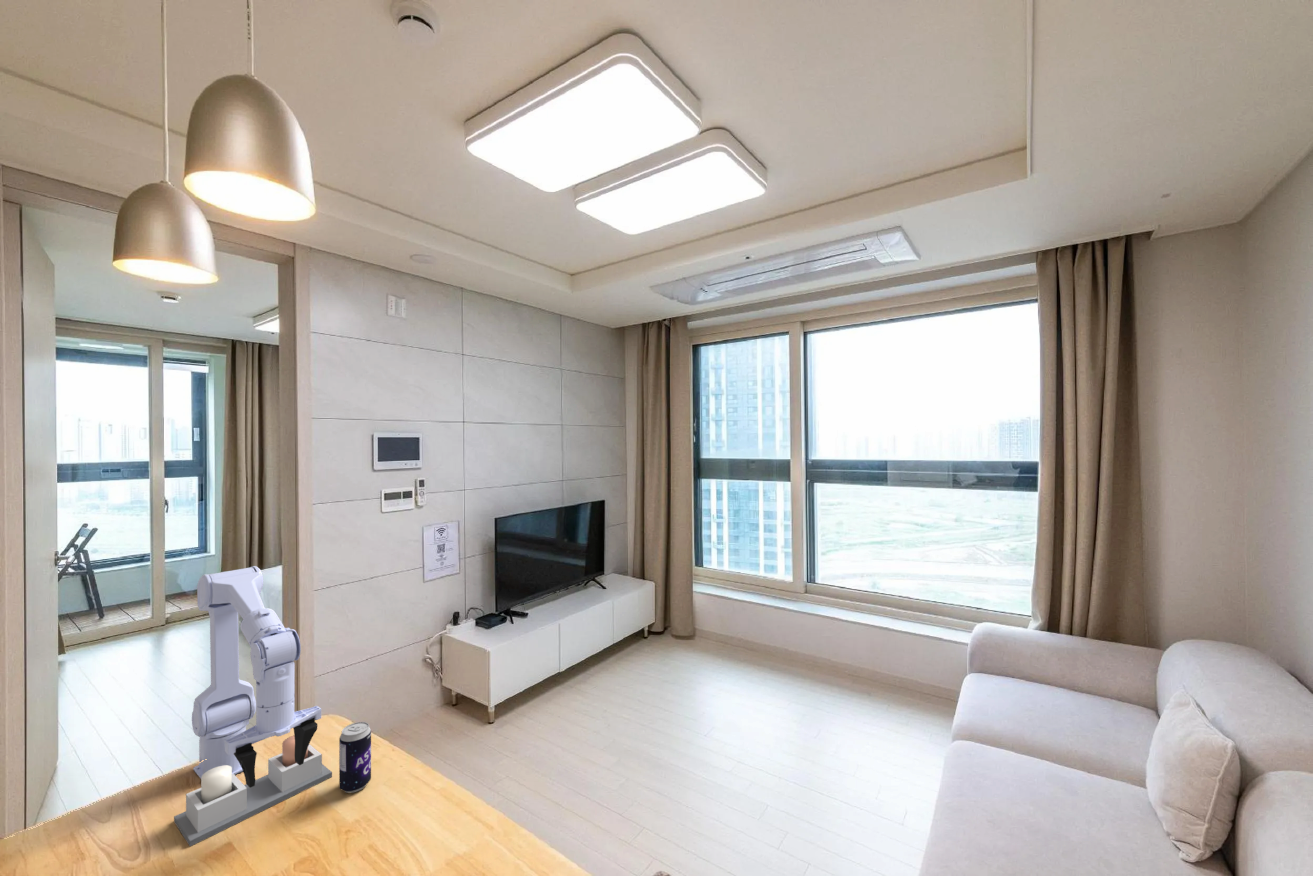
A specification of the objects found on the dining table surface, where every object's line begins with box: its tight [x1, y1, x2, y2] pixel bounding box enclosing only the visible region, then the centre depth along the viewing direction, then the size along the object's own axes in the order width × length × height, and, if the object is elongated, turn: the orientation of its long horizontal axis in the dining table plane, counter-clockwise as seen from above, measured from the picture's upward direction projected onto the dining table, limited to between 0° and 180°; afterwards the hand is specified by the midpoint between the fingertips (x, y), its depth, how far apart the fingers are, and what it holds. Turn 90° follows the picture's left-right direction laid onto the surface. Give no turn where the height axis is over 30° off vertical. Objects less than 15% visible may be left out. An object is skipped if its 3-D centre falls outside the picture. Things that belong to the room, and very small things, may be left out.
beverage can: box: [338, 721, 372, 794], centre depth 107 cm, size 6×6×12 cm
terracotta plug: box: [281, 734, 308, 767], centre depth 109 cm, size 4×4×4 cm
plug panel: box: [173, 743, 333, 847], centre depth 104 cm, size 10×23×5 cm, turn 145°
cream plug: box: [200, 765, 232, 803], centre depth 98 cm, size 4×4×4 cm
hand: (275, 773), depth 96 cm, fingers open, 7 cm apart
